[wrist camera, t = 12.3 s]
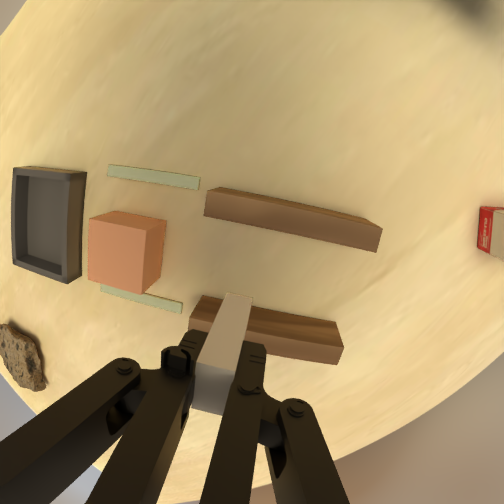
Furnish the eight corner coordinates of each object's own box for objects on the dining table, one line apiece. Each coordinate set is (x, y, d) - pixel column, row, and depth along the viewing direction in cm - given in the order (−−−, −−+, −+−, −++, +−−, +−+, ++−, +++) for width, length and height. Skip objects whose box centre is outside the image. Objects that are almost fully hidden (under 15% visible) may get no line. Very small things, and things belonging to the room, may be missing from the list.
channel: (219, 187, 28) (207, 190, 23) (365, 218, 27) (382, 228, 22) (200, 312, 31) (187, 336, 26) (329, 338, 31) (337, 365, 26)
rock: (-2, 307, 35) (-19, 317, 31) (44, 336, 35) (27, 350, 31) (6, 358, 38) (-7, 369, 34) (51, 387, 38) (38, 401, 34)
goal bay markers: (110, 164, 28) (108, 164, 27) (200, 177, 27) (199, 177, 27) (101, 290, 32) (100, 291, 31) (181, 312, 31) (180, 314, 31)
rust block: (115, 210, 29) (89, 218, 24) (166, 220, 29) (146, 230, 24) (111, 264, 31) (87, 279, 26) (160, 276, 31) (141, 295, 26)
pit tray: (29, 166, 28) (13, 167, 26) (87, 172, 28) (70, 173, 25) (27, 257, 32) (12, 264, 29) (81, 275, 31) (67, 284, 29)
